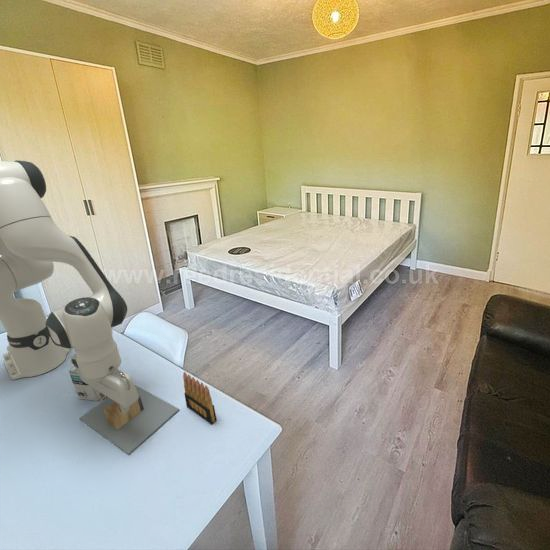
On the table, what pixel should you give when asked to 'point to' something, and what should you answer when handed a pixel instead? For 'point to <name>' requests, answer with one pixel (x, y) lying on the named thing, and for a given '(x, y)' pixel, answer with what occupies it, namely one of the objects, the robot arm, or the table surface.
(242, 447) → the table surface
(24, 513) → the table surface
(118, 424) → the oak block
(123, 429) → the slate mat
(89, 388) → the light bulb box
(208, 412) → the ammunition clip
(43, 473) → the table surface
